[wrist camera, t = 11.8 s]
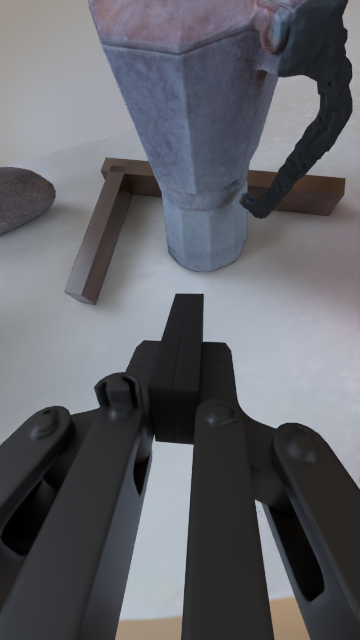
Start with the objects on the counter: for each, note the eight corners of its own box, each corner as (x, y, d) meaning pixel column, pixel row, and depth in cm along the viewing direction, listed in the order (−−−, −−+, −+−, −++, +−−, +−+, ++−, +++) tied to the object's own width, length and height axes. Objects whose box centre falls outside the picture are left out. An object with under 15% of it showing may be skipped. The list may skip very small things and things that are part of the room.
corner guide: (71, 300, 26) (54, 290, 23) (115, 178, 29) (105, 157, 27) (314, 349, 21) (331, 345, 19) (329, 200, 25) (345, 178, 22)
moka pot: (191, 177, 28) (160, -257, 9) (292, 252, 24) (628, -240, 5) (134, 227, 27) (-38, -138, 8) (229, 313, 23) (342, 2, 4)
